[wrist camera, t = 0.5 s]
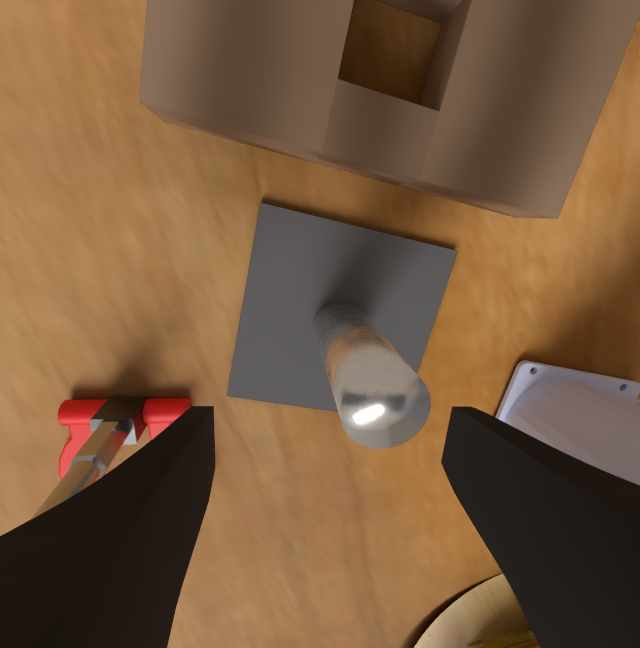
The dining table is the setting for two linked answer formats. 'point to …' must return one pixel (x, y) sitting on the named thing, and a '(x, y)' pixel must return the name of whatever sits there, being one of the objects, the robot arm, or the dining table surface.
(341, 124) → the hole block
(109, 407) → the tow hook
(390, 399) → the peg
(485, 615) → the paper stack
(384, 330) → the mat
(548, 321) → the dining table surface
